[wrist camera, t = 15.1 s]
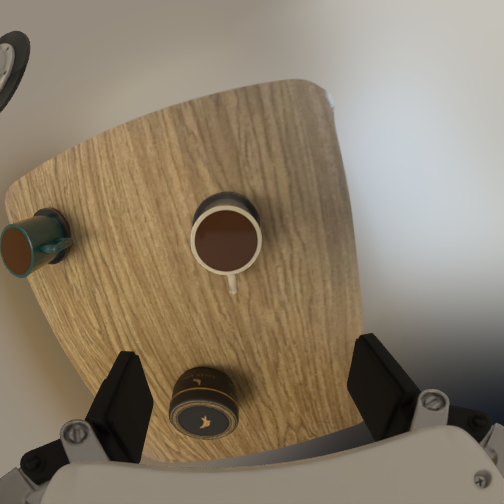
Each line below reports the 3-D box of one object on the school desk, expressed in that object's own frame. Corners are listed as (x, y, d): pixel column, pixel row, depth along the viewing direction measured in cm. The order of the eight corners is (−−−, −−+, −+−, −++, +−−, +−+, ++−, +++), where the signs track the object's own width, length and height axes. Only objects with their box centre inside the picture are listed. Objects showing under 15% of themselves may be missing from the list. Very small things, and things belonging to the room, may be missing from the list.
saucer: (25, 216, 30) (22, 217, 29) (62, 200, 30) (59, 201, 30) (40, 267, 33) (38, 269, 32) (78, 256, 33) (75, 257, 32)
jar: (230, 359, 39) (231, 395, 31) (242, 403, 42) (245, 437, 34) (166, 367, 38) (157, 401, 31) (185, 409, 41) (181, 442, 34)
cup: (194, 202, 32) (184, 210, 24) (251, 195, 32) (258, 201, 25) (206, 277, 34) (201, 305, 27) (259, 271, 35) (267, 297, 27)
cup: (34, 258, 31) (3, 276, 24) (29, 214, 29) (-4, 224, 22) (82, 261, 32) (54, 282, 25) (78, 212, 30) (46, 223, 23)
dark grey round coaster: (186, 201, 32) (185, 201, 32) (251, 185, 32) (252, 185, 32) (202, 263, 35) (202, 265, 34) (265, 249, 35) (266, 250, 34)
